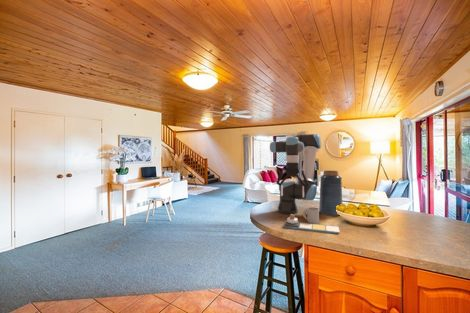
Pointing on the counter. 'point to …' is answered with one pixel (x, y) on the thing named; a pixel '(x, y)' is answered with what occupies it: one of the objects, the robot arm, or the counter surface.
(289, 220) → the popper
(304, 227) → the game board
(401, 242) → the counter surface
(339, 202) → the vase
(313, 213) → the cup
